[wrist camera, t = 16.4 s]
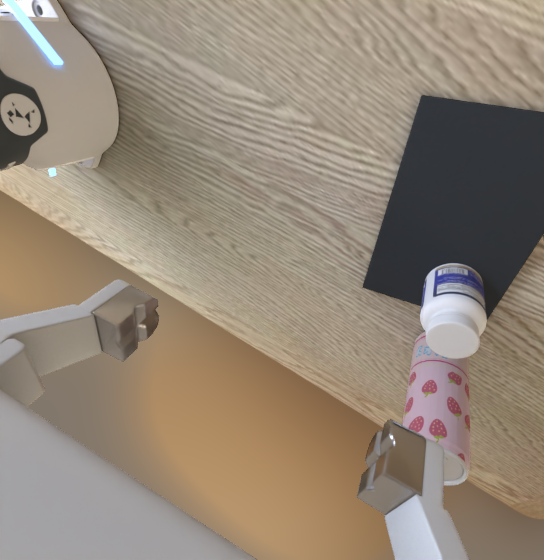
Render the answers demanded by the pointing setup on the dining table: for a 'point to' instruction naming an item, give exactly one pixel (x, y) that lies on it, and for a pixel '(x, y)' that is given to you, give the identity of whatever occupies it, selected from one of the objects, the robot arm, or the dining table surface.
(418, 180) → the felt mat
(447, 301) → the pill bottle
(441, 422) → the beverage can
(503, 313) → the dining table surface
